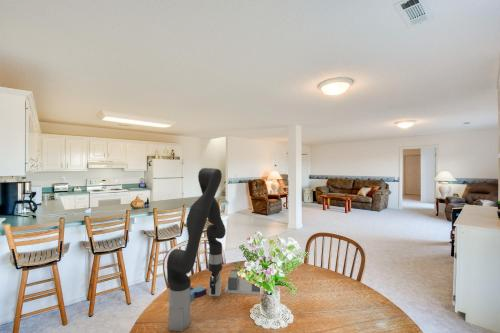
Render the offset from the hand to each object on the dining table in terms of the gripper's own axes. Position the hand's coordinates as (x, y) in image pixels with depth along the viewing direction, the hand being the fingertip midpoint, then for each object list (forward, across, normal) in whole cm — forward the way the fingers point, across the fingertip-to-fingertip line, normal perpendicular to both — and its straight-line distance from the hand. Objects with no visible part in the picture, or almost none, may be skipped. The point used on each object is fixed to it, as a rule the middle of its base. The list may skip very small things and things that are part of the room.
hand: (215, 290), depth 137 cm
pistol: (+3, -2, +14) cm, 15 cm away
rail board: (+2, +9, -16) cm, 18 cm away
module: (+2, 0, 0) cm, 2 cm away
